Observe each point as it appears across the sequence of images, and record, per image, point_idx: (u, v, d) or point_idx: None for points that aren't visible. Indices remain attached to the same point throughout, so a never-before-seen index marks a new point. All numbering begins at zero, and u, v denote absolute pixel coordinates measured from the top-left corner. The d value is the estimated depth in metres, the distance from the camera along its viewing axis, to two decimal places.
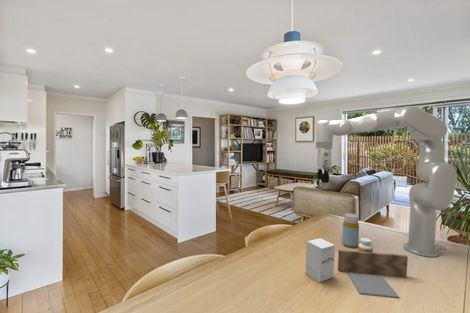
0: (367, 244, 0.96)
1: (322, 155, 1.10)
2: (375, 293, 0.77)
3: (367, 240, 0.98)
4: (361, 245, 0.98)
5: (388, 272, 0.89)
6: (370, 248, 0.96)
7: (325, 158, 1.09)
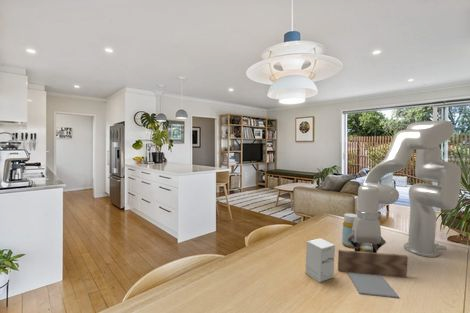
0: (367, 244, 0.96)
1: None
2: (375, 293, 0.77)
3: None
4: (361, 245, 0.98)
5: (388, 272, 0.89)
6: (370, 248, 0.96)
7: None
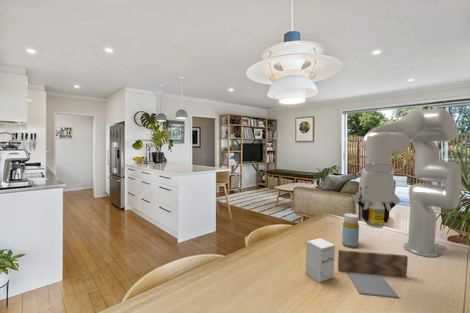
0: (378, 203, 0.79)
1: (393, 182, 0.78)
2: (375, 293, 0.77)
3: None
4: (370, 205, 0.80)
5: (388, 272, 0.89)
6: (381, 207, 0.79)
7: None
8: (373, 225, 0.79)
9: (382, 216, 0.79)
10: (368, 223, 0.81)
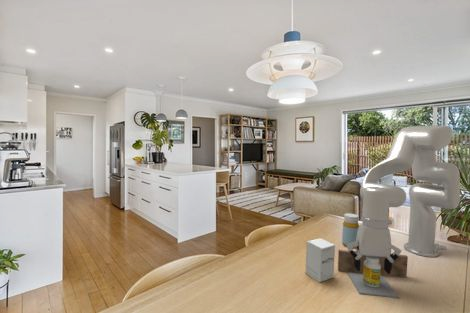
0: (374, 262, 0.80)
1: (390, 237, 0.79)
2: (375, 293, 0.77)
3: (374, 257, 0.82)
4: (367, 263, 0.82)
5: None
6: (378, 267, 0.80)
7: None
8: (370, 284, 0.81)
9: (379, 275, 0.80)
10: (365, 281, 0.82)
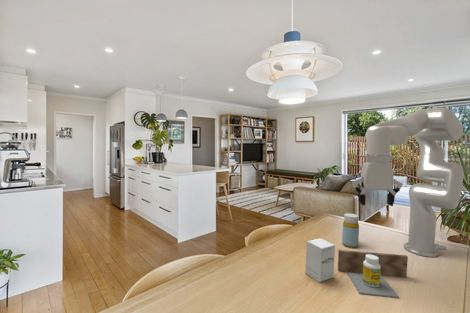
0: (374, 262, 0.81)
1: (392, 172, 0.85)
2: (375, 293, 0.77)
3: (374, 257, 0.82)
4: (367, 263, 0.82)
5: (388, 272, 0.89)
6: (378, 267, 0.80)
7: None
8: (370, 284, 0.81)
9: (378, 275, 0.80)
10: (365, 281, 0.82)
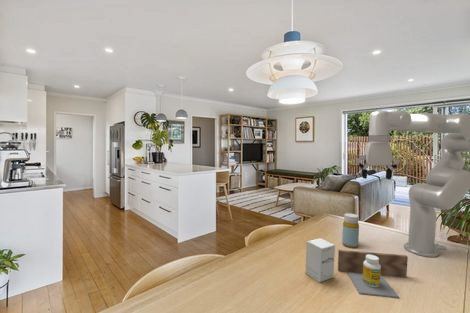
0: (374, 263, 0.80)
1: None
2: (375, 293, 0.77)
3: (374, 257, 0.82)
4: (367, 264, 0.82)
5: (388, 272, 0.89)
6: (378, 267, 0.80)
7: None
8: (370, 284, 0.81)
9: (378, 276, 0.80)
10: (365, 281, 0.82)
